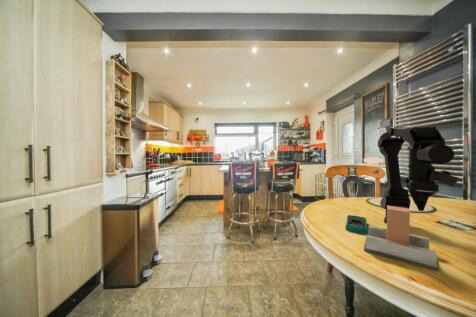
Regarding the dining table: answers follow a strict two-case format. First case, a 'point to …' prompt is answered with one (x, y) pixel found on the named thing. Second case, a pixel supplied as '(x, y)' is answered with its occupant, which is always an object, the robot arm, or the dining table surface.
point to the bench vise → (401, 248)
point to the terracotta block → (398, 224)
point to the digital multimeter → (356, 224)
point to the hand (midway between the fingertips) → (418, 207)
